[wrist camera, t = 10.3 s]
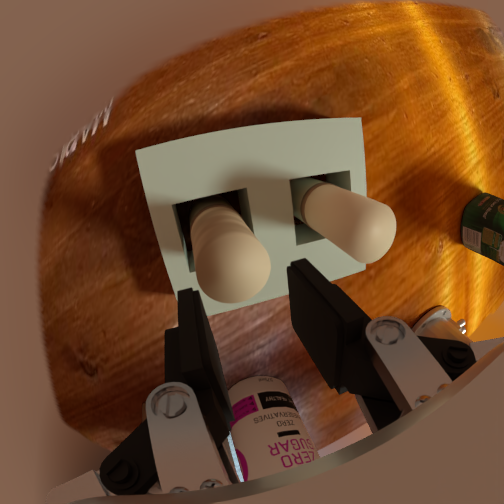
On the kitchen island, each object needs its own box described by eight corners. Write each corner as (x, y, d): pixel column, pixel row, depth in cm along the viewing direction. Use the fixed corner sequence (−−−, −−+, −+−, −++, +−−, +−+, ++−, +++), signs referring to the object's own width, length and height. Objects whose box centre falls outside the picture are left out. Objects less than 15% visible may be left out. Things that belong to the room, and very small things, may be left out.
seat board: (334, 119, 21) (418, 117, 12) (342, 252, 26) (408, 303, 18) (143, 149, 18) (111, 154, 9) (183, 295, 24) (190, 378, 15)
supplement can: (230, 416, 33) (257, 508, 19) (215, 382, 29) (244, 497, 16) (285, 400, 34) (326, 487, 21) (281, 364, 31) (333, 468, 17)
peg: (229, 189, 21) (266, 225, 12) (237, 231, 23) (275, 293, 14) (183, 199, 21) (186, 245, 12) (194, 242, 22) (205, 312, 13)
